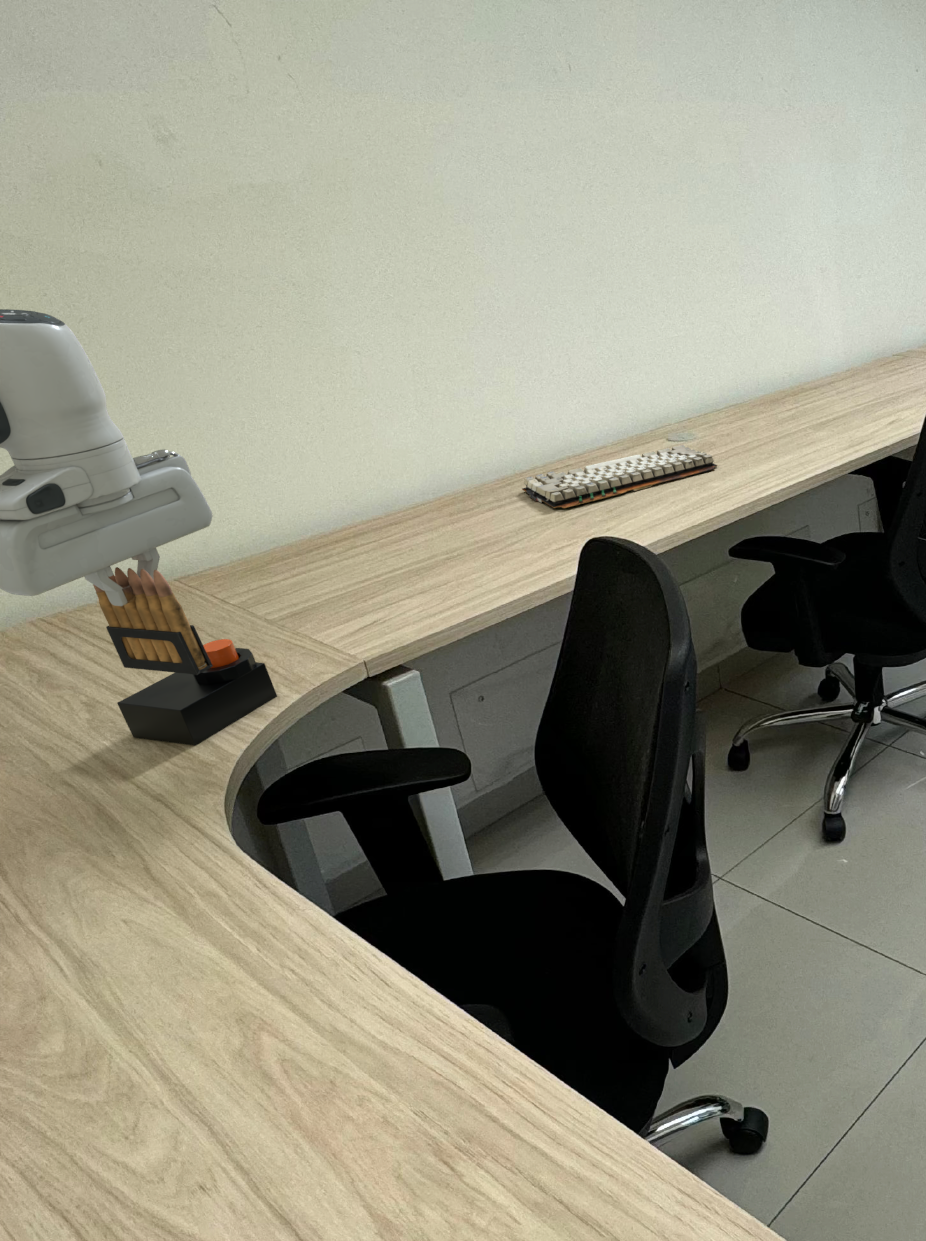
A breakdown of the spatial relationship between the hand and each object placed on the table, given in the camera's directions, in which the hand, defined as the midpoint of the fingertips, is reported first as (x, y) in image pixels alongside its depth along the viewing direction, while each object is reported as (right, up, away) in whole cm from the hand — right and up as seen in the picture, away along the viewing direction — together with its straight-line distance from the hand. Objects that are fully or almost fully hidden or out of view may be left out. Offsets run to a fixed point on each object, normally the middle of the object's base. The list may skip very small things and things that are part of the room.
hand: (136, 597), depth 105 cm
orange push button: (-8, -8, +23) cm, 25 cm away
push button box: (-10, -16, +23) cm, 30 cm away
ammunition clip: (0, -8, +4) cm, 9 cm away
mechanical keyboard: (+15, +25, +108) cm, 111 cm away
